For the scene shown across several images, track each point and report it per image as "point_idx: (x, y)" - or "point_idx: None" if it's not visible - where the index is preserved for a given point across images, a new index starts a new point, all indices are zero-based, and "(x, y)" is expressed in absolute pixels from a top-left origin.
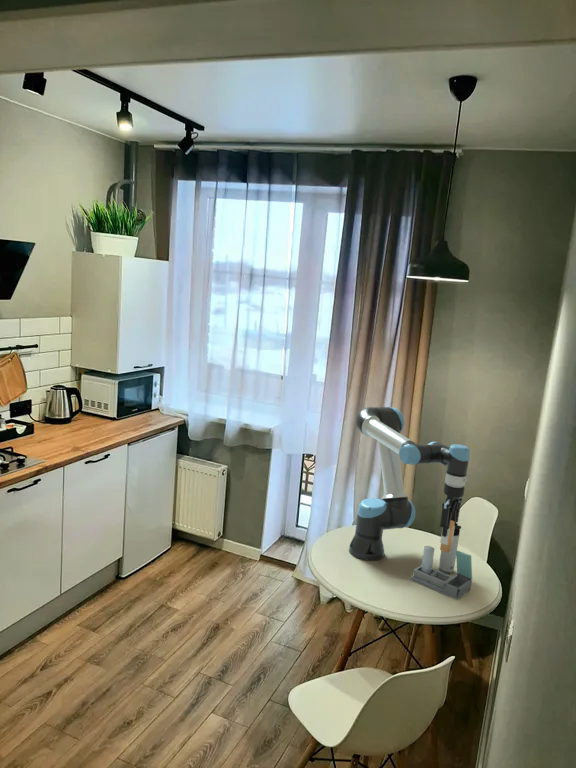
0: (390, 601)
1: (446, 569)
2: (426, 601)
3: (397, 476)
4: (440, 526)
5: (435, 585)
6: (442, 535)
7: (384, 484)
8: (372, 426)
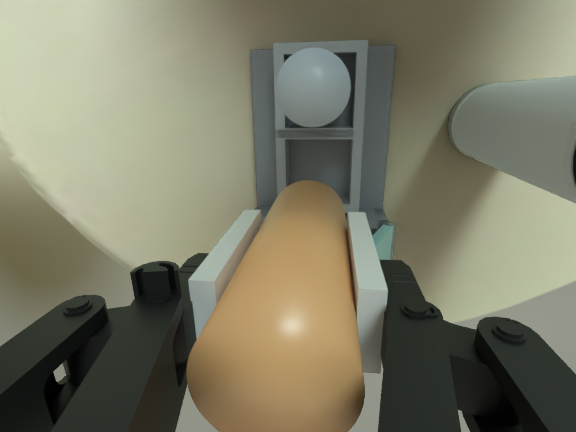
0: (39, 94)
1: (456, 138)
2: (157, 186)
3: None
4: (74, 301)
5: (274, 165)
6: (194, 260)
7: None
8: None
